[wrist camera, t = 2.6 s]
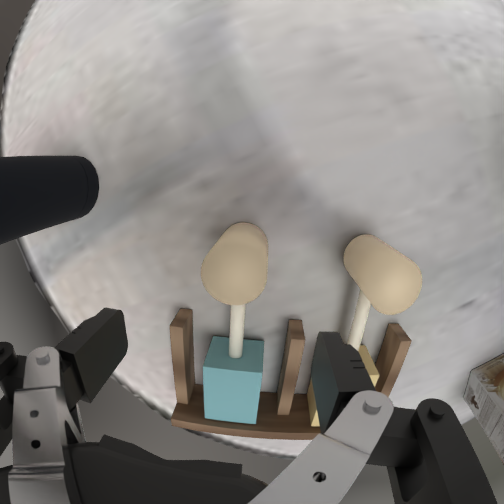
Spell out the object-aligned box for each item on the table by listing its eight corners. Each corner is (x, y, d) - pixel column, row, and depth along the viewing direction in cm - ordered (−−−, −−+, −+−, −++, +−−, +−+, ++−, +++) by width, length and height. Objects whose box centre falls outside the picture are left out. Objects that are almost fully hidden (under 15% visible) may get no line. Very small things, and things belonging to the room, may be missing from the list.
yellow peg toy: (339, 229, 24) (368, 254, 16) (390, 235, 23) (433, 260, 16) (306, 394, 29) (313, 446, 21) (348, 393, 28) (362, 443, 21)
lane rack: (180, 308, 27) (160, 340, 21) (398, 323, 26) (422, 355, 20) (185, 389, 30) (172, 425, 24) (370, 399, 29) (382, 434, 23)
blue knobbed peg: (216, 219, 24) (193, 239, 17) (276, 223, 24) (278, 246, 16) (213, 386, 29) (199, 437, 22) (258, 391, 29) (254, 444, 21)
